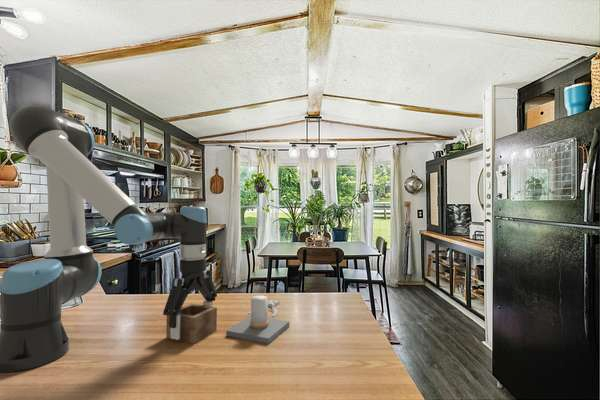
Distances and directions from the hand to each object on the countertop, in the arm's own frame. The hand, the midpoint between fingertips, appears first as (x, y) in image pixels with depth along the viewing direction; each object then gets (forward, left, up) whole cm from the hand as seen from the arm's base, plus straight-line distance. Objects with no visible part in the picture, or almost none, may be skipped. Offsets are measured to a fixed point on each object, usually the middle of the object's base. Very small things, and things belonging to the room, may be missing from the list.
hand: (192, 329), depth 94 cm
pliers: (+29, -10, -2) cm, 31 cm away
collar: (0, 0, -1) cm, 1 cm away
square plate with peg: (+10, -17, -1) cm, 20 cm away
